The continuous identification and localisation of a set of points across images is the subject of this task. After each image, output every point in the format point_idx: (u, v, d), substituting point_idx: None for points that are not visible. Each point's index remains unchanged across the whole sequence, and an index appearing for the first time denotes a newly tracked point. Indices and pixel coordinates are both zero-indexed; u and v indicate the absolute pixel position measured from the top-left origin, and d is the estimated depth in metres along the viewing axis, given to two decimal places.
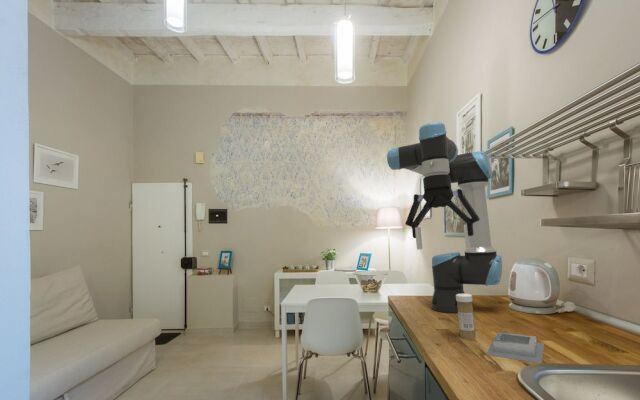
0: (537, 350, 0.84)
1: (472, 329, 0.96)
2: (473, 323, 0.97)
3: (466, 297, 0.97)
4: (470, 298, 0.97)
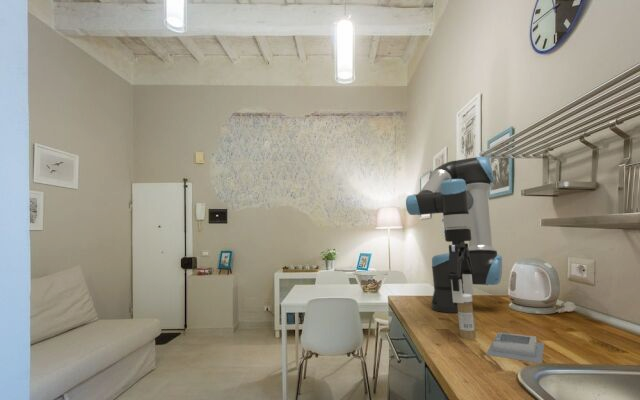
0: (537, 350, 0.84)
1: (472, 329, 0.96)
2: (473, 323, 0.97)
3: (466, 297, 0.97)
4: (470, 298, 0.97)
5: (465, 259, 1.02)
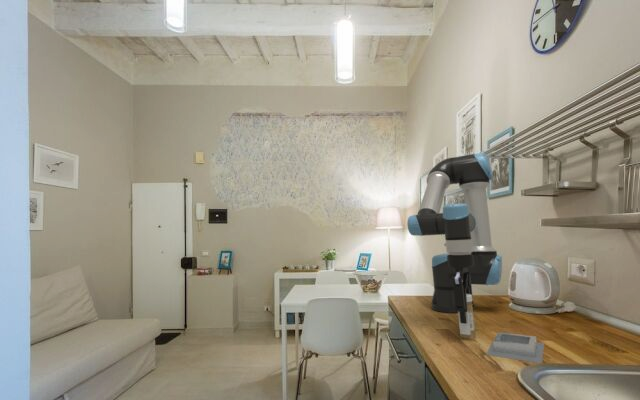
0: (537, 350, 0.84)
1: (472, 329, 0.96)
2: (473, 323, 0.97)
3: (466, 297, 0.97)
4: (470, 298, 0.97)
5: None
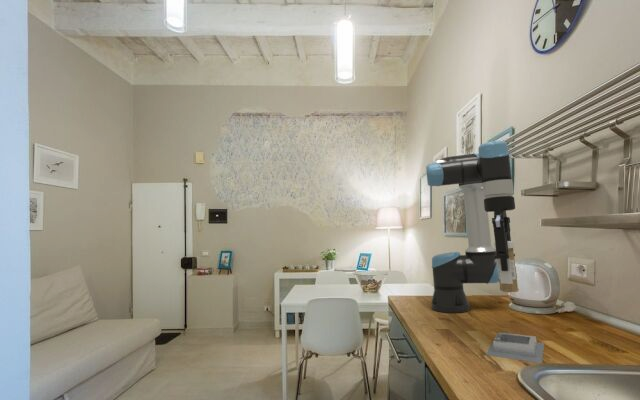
0: (537, 350, 0.84)
1: (514, 278, 0.86)
2: (515, 272, 0.87)
3: None
4: (511, 244, 0.88)
5: (506, 233, 0.90)
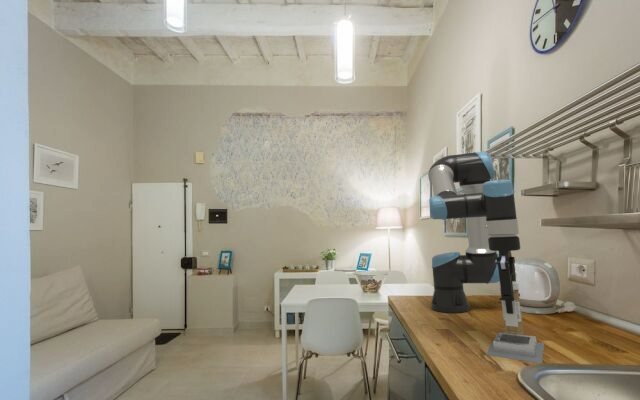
0: (537, 350, 0.84)
1: (519, 320, 0.85)
2: (520, 313, 0.86)
3: None
4: (516, 285, 0.86)
5: None
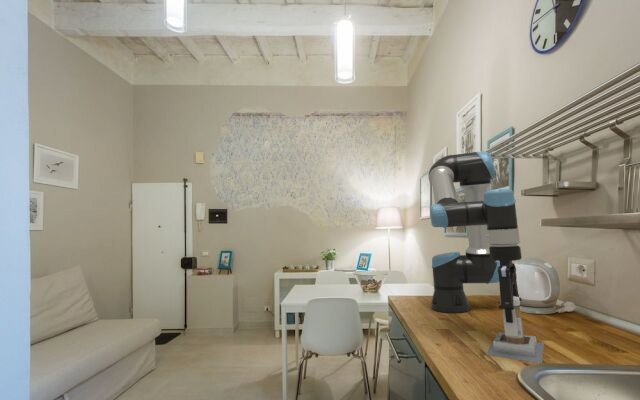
0: (537, 350, 0.84)
1: (521, 336, 0.85)
2: (522, 329, 0.85)
3: (513, 300, 0.85)
4: (518, 301, 0.86)
5: None
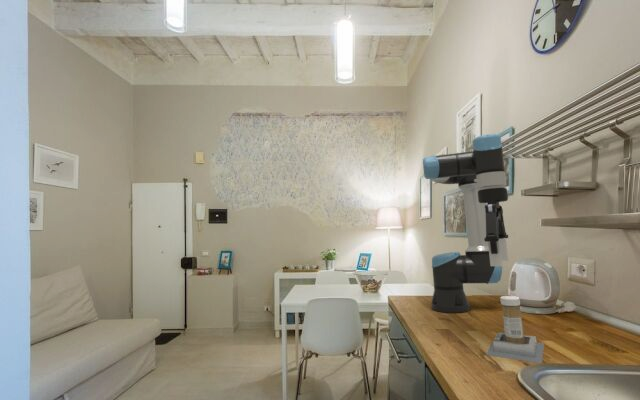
0: (537, 350, 0.84)
1: (521, 336, 0.85)
2: (522, 329, 0.85)
3: (514, 300, 0.86)
4: (518, 301, 0.86)
5: (500, 222, 0.95)
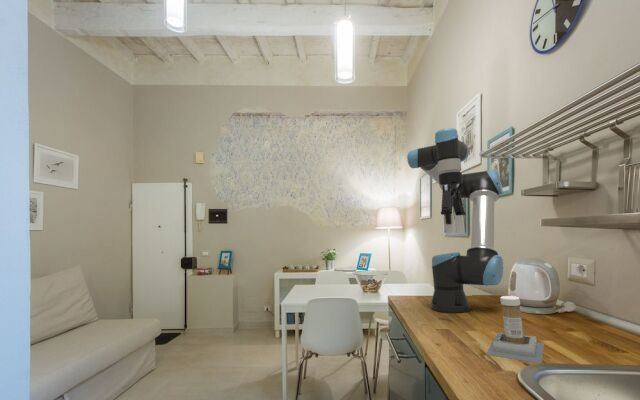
0: (537, 350, 0.84)
1: (521, 336, 0.85)
2: (522, 329, 0.85)
3: (514, 300, 0.86)
4: (518, 301, 0.86)
5: (457, 200, 1.15)
